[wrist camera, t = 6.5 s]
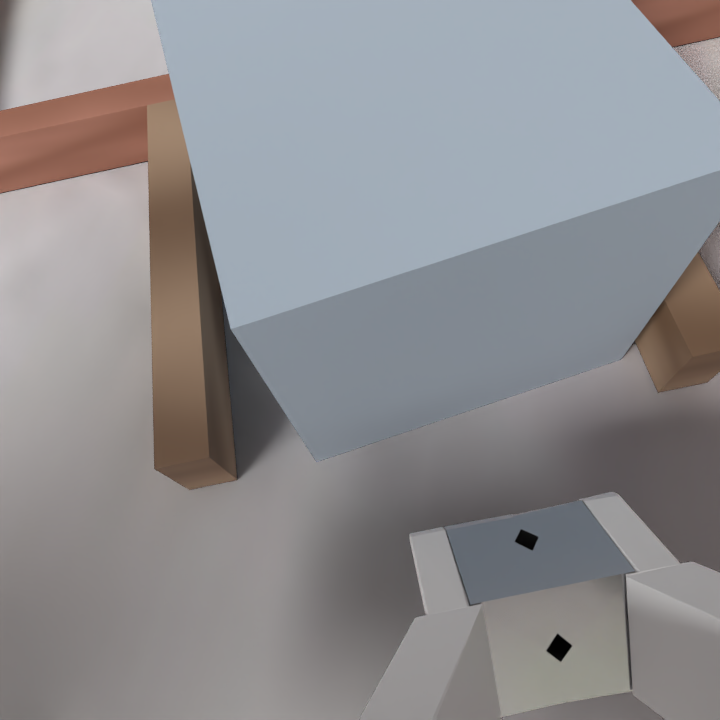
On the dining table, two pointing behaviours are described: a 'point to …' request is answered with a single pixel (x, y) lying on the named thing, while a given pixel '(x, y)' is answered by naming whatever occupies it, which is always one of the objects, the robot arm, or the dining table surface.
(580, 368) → the slate block
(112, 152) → the channel
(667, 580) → the robot arm
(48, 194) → the dining table surface
